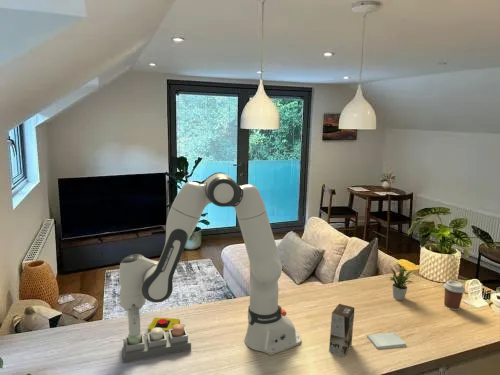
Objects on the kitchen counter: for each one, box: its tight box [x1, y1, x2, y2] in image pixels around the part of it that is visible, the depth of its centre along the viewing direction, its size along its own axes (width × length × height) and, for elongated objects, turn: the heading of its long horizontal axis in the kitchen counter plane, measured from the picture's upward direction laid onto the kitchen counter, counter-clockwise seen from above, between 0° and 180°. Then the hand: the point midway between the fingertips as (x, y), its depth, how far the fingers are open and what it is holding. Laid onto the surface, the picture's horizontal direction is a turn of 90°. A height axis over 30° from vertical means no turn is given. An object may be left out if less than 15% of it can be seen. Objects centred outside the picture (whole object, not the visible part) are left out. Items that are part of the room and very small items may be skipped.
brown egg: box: [172, 323, 184, 337], centre depth 141 cm, size 4×4×3 cm
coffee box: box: [328, 303, 355, 357], centre depth 141 cm, size 9×6×16 cm
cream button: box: [151, 328, 163, 341], centre depth 139 cm, size 4×4×3 cm
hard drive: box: [366, 332, 407, 350], centre depth 147 cm, size 2×8×12 cm
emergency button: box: [144, 317, 186, 336], centre depth 152 cm, size 9×4×15 cm
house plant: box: [389, 266, 415, 301], centre depth 182 cm, size 14×14×16 cm
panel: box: [122, 326, 192, 364], centre depth 139 cm, size 24×10×5 cm, turn 110°
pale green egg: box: [127, 332, 142, 345], centre depth 136 cm, size 4×4×3 cm
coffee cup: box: [442, 280, 466, 311], centre depth 175 cm, size 9×9×12 cm
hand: (134, 333), depth 135 cm, fingers closed
